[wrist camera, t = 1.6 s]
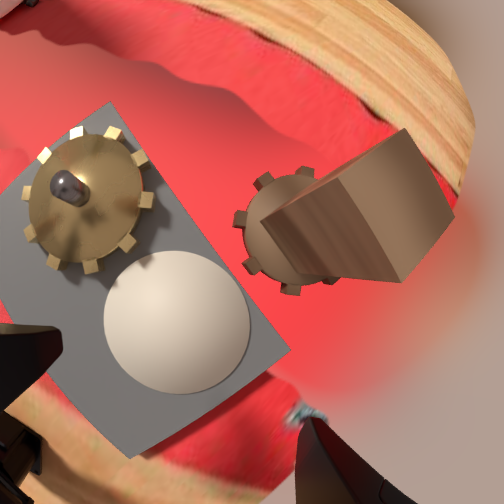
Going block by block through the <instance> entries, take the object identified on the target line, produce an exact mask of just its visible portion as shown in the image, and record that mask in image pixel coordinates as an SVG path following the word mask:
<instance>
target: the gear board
mask: <svg viewBox="0 0 504 504" xmlns="http://www.w3.org/2000/svg"><path fill="white" fill-rule="evenodd" d="M81 126H83V127H84V128H85V130H86V131H87V132H88V134H99V135H105V133H106V131H107V130H108V128H109V126H112V127H115V128H118V129H120V130H122V132H123V134H124V136H125V138H126V139H125V141H124V143H123V145H124V146H125V147H126V148H127V149H128V150H129V151H130V153H131V154H133V153H135V152H137V151H138V150H140V149H142V147H141V146H140V144H139V143H138V141H137V140H136V138H135V137H134V136H133V134H132V133H131V131H130V130H129V128H128V127H127V125H126V124H125V122H124V121H123V119H122V118H121V116H120V115H119V113H118V112H117V110H116V109H115V107H114V106H113V104H112V103H111V101H110V102H108V103H107V104H105V105H104V106H102V107H101V108H99V109H98V110H97V111H95V112H94V113H92V114H91V115H90V116H88V117H87V118H85V119H84V120H83V121H81V122H80V123H79V124H77V125H76V126H75V127H73V128H72V129H75V128H78V127H81ZM72 129H71V130H72ZM68 140H70V131H68V132H67V133H66V134H65V135H63V136H62V137H61V138H60V139H59V140H57V141H56V142H55V143H54V144H52V145H51V146H50V147H49V148H48V149H49V150H50V151H51V152H53V151H54V150H55V149H56V148H57V147H59V146H60V145H61V144H63V143H65V142H66V141H68ZM143 151H144V150H143ZM144 153H145V152H144ZM145 155H146V153H145ZM146 157H147V158H148V160H149V163H150V165H151V168H150V169H148V170H147V171H145V172H143V173H142V176H143V180H144V185H145V192H154V194H155V196H156V203H155V211H154V212H145V211H143V213H142V217H141V219H140V222H139V224H138V226H137V228H136V230H135V232H134V233H133V235H134V236H135V237H136V238H137V239H138V240H139V241H140V242H141V243H140V244H139V245H138V246H137V248H136V249H135V250H134V251H133V252H132V254H128V253H126V252H124V251H123V250H122V249H121V248H120V249H119V250H118V251H117V252H115V253H114V254H112V255H110V256H108V257H107V258H104V259H103V261H104V266H105V271H101V272H97V273H93V274H85V272H84V267H83V262H82V263H75V262H69V263H68V266H67V268H66V270H59V271H57V270H55V269H53V268H51V267H50V266H48V265H46V262H47V259H48V256H49V252H47V251H46V250H45V249H44V248H43V247H42V245H41V244H40V243H38V244H36V243H28V241H27V238H26V236H25V233H24V229H25V228H26V227H27V226H29V225H30V224H31V223H30V218H29V203H28V202H26V201H23V200H21V198H22V192H23V187H24V186H32V183H33V180H34V178H35V175H36V173H37V171H38V170H39V168H40V166H41V165H42V163H41V162H40V161H39V160H38V158H37V159H35V161H33V162H32V163H31V164H30V165H29V166H28V167H27V168H26V169H25V170H24V171H23V172H22V173H21V174H20V175H19V176H18V177H17V178H16V179H15V180H14V181H13V182H12V183H11V184H10V185H9V186H8V187H7V188H6V189H5V190H4V192H3V193H2V194H1V195H0V299H1V301H2V303H3V305H4V307H5V308H6V310H7V312H8V314H9V316H10V317H11V319H12V321H13V322H14V324H22V325H43V326H54V327H56V328H58V329H60V330H61V332H62V339H63V353H62V354H61V356H60V357H59V358H58V359H57V360H56V361H55V362H54V363H53V364H52V365H51V367H50V368H49V369H48V370H47V371H46V372H47V373H48V374H49V376H50V377H51V378H52V379H53V381H54V382H55V383H56V384H57V386H58V387H59V388H60V389H61V391H62V392H63V393H64V394H65V395H66V397H67V398H68V399H69V400H70V401H71V402H72V403H73V405H74V406H75V407H76V408H77V409H78V410H79V411H80V412H81V413H82V414H83V416H84V417H85V418H86V419H87V420H88V421H89V422H90V423H91V424H92V425H93V426H94V427H95V428H96V429H97V430H98V431H99V432H100V433H101V434H102V435H103V436H104V437H105V438H106V439H107V440H109V441H110V442H111V443H112V444H113V445H114V446H115V447H116V448H117V449H118V450H120V451H121V452H122V453H123V454H124V455H125V456H127V457H128V458H129V459H131V458H133V457H135V456H136V455H138V454H140V453H142V452H144V451H145V450H147V449H149V448H151V447H152V446H154V445H156V444H158V443H159V442H161V441H163V440H164V439H166V438H168V437H169V436H171V435H173V434H174V433H176V432H178V431H179V430H181V429H182V428H184V427H186V426H187V425H189V424H190V423H192V422H193V421H195V420H197V419H198V418H200V417H201V416H203V415H204V414H206V413H207V412H209V411H210V410H212V409H213V408H215V407H216V406H217V405H219V404H220V403H222V402H223V401H225V400H226V399H227V398H229V397H230V396H232V395H233V394H235V393H236V392H237V391H239V390H240V389H241V388H243V387H244V386H246V385H247V384H248V383H250V382H251V381H252V380H254V379H255V378H256V377H258V376H259V375H260V374H261V373H263V372H264V371H265V370H267V369H268V368H269V367H270V366H272V365H273V364H274V363H276V362H277V361H278V360H279V359H281V358H282V357H283V356H284V355H286V354H287V353H288V352H289V351H291V349H290V348H289V346H288V345H287V344H286V343H285V341H284V340H283V339H282V338H281V337H280V335H279V334H278V333H277V331H276V330H275V329H274V327H273V326H272V325H271V323H270V322H269V321H268V320H267V318H266V317H265V316H264V314H263V313H262V312H261V311H260V309H259V308H258V307H257V305H256V304H255V303H254V302H253V300H252V299H251V298H250V296H249V295H248V294H247V292H246V291H245V290H244V288H243V287H242V286H241V284H240V283H239V282H238V280H237V279H236V278H235V276H234V275H233V274H232V272H231V271H230V270H229V268H228V267H227V266H226V264H225V263H224V262H223V260H222V259H221V258H220V256H219V255H218V254H217V252H216V251H215V250H214V248H213V247H212V245H211V244H210V243H209V241H208V240H207V239H206V237H205V236H204V235H203V233H202V232H201V230H200V229H199V228H198V226H197V225H196V224H195V222H194V221H193V219H192V218H191V217H190V215H189V214H188V213H187V211H186V210H185V209H184V207H183V206H182V204H181V203H180V201H179V200H178V199H177V197H176V196H175V194H174V193H173V192H172V190H171V189H170V188H169V186H168V185H167V183H166V182H165V180H164V179H163V178H162V176H161V175H160V173H159V172H158V170H157V169H156V167H155V166H154V165H153V163H152V162H151V160H150V159H149V157H148V156H147V155H146Z"/></svg>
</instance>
